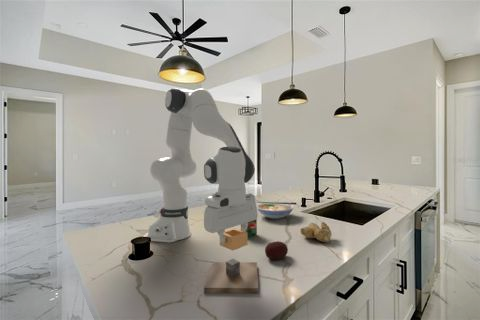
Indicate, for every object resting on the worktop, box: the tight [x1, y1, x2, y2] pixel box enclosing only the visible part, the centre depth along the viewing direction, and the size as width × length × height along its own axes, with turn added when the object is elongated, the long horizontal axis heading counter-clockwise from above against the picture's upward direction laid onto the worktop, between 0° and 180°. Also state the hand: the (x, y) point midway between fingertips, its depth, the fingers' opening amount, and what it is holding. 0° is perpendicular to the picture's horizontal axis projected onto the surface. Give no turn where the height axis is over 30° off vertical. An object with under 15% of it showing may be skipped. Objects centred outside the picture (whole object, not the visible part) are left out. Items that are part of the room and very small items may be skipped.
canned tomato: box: [240, 218, 258, 240], centre depth 116 cm, size 8×8×11 cm
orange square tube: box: [219, 227, 249, 251], centre depth 77 cm, size 6×6×4 cm
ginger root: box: [299, 221, 333, 243], centre depth 111 cm, size 16×16×8 cm
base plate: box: [203, 258, 259, 294], centre depth 78 cm, size 16×16×6 cm
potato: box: [264, 240, 289, 261], centre depth 92 cm, size 7×10×6 cm
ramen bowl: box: [256, 201, 297, 220], centre depth 147 cm, size 25×23×8 cm
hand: (233, 239), depth 77 cm, fingers closed on orange square tube, 6 cm apart
